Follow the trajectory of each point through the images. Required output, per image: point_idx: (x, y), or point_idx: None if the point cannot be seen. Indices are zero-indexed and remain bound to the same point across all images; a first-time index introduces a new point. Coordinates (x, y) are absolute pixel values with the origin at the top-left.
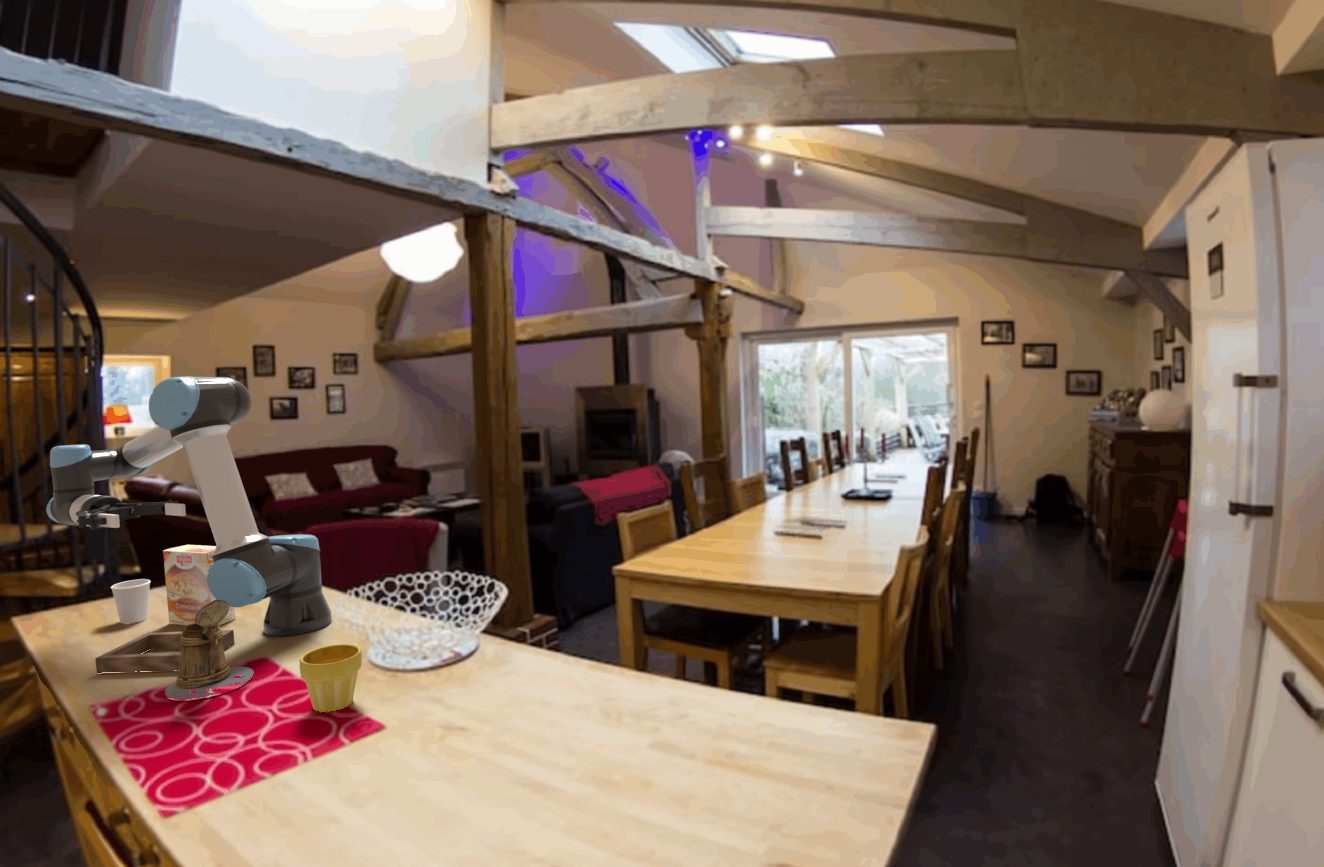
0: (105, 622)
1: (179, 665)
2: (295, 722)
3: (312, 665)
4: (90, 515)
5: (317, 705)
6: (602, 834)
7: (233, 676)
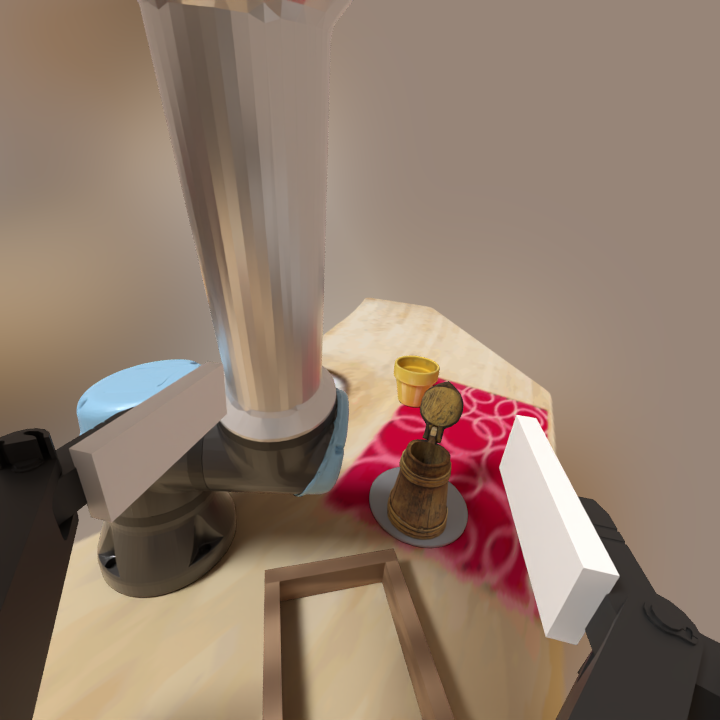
0: None
1: (443, 508)
2: None
3: (438, 365)
4: (689, 626)
5: None
6: (453, 329)
7: None
